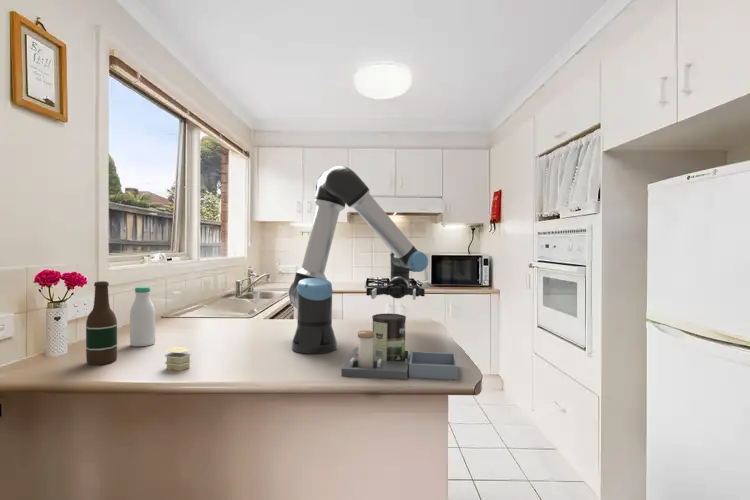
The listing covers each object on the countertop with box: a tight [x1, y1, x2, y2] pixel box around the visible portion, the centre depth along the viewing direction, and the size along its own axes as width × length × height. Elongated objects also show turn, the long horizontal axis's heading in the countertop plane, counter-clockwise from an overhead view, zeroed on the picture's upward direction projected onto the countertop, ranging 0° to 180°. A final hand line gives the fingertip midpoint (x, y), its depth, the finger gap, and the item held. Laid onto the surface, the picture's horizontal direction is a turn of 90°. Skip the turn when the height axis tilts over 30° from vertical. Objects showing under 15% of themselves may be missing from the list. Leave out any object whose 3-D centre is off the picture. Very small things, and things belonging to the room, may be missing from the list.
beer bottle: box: [85, 280, 118, 366], centre depth 126 cm, size 8×8×24 cm
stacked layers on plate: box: [164, 346, 192, 372], centre depth 122 cm, size 10×9×6 cm
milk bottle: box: [129, 286, 156, 348], centre depth 148 cm, size 8×8×20 cm
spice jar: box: [357, 330, 374, 369], centre depth 120 cm, size 5×5×11 cm
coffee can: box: [371, 313, 407, 362], centre depth 130 cm, size 10×10×14 cm
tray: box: [408, 350, 459, 381], centre depth 122 cm, size 13×13×4 cm
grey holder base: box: [340, 347, 411, 380], centre depth 126 cm, size 18×22×3 cm
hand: (393, 295), depth 140 cm, fingers open, 13 cm apart
